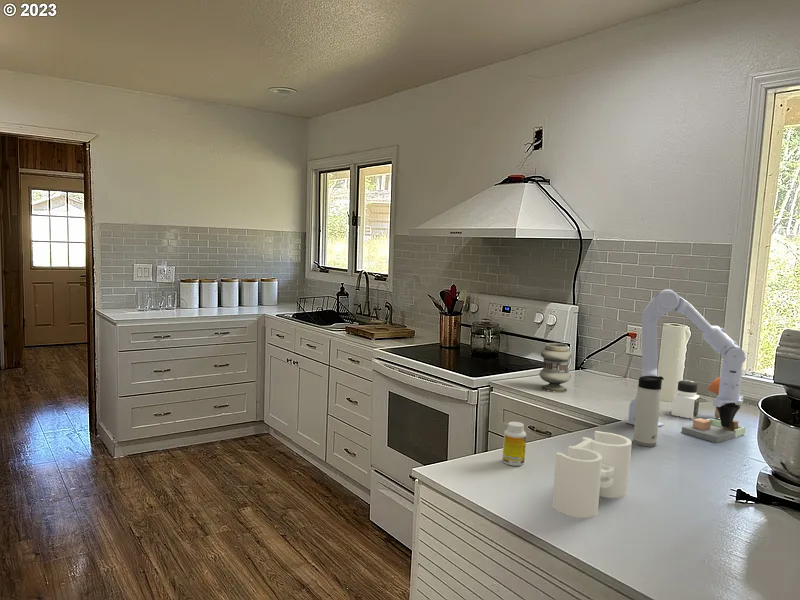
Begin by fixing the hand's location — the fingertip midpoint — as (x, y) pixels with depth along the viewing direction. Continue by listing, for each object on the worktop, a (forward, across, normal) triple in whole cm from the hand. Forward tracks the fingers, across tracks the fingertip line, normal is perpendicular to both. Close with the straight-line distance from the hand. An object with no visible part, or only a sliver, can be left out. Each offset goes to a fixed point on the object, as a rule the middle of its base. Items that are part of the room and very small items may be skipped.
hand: (725, 426), depth 189 cm
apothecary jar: (+3, -4, +65) cm, 65 cm away
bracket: (+3, -79, -10) cm, 80 cm away
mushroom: (+3, +17, +11) cm, 21 cm away
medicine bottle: (+3, +10, +19) cm, 22 cm away
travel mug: (+3, -32, +7) cm, 33 cm away
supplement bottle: (+3, -79, +14) cm, 80 cm away
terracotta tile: (+1, -6, +4) cm, 7 cm away
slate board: (+3, -5, +2) cm, 6 cm away
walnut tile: (0, +2, 0) cm, 2 cm away
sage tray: (+3, +3, +3) cm, 5 cm away
